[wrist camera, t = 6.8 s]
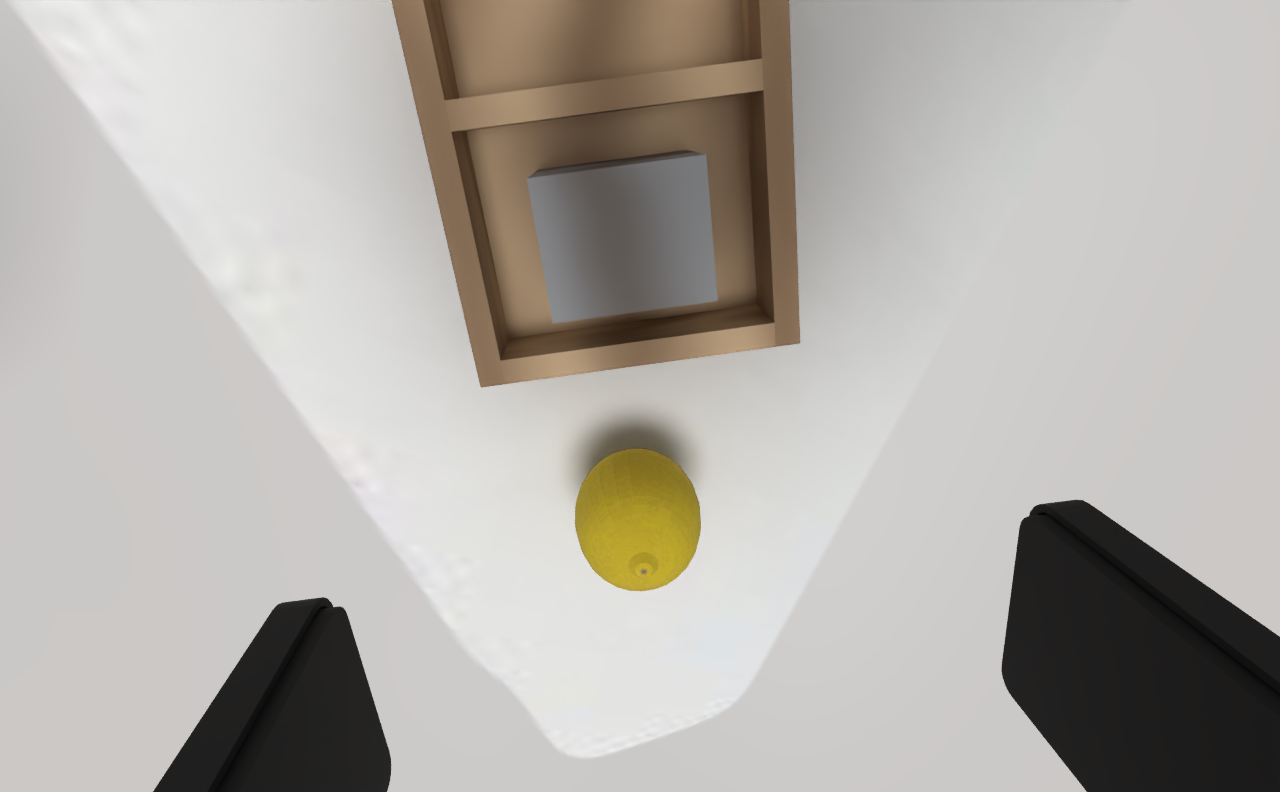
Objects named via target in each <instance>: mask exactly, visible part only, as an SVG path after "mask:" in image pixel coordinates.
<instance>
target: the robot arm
mask: <svg viewBox="0 0 1280 792" xmlns="http://www.w3.org/2000/svg"><path fill="white" fill-rule="evenodd" d="M1011 591H1012V592H1011V598H1010V606H1009V613H1008V621H1007V629H1006V637H1005V644H1004V652H1003V660H1002V675H1003V679H1004V682H1005V685H1006V687H1007V689H1008V691H1009V693H1010V694H1011V696H1012V697H1013V699H1014V700H1015V701H1016V702H1017V704H1018V705H1019V706H1020V707H1021V709H1022V710H1023V711H1024V712H1025V714H1026V715H1027V716H1028V718H1029V719H1030V720H1031V721H1032V722H1033V724H1034V725H1035V726H1036V728H1037V729H1038V730H1039V731H1040V732H1041V734H1042V735H1043V737H1044V738H1045V739H1046V740H1047V742H1048V743H1049V744H1050V745H1051V747H1052V748H1053V749H1054V750H1055V752H1056V753H1057V754H1058V756H1059V757H1060V758H1061V759H1062V761H1063V762H1064V763H1065V764H1066V766H1067V767H1068V768H1069V770H1070V771H1071V772H1072V773H1073V775H1074V776H1075V777H1076V778H1077V780H1078V781H1079V782H1080V783H1081V784H1082V786H1083V787H1084V788H1085V790H1086V791H1087V792H1280V637H1279V636H1278V635H1276V634H1275V633H1273V632H1272V631H1270V630H1269V629H1268V628H1266V627H1265V626H1263V625H1262V624H1261V623H1259V622H1258V621H1256V620H1255V619H1253V618H1252V617H1251V616H1249V615H1248V614H1246V613H1245V612H1243V611H1242V610H1240V609H1239V608H1238V607H1236V606H1235V605H1233V604H1232V603H1231V602H1229V601H1228V600H1226V599H1225V598H1223V597H1222V596H1220V595H1219V594H1218V593H1216V592H1215V591H1213V590H1212V589H1211V588H1209V587H1208V586H1206V585H1205V584H1203V583H1202V582H1200V581H1199V580H1198V579H1196V578H1195V577H1193V576H1192V575H1190V574H1189V573H1188V572H1186V571H1185V570H1183V569H1182V568H1180V567H1179V566H1178V565H1176V564H1175V563H1173V562H1172V561H1170V560H1169V559H1168V558H1166V557H1165V556H1163V555H1162V554H1160V553H1159V552H1158V551H1156V550H1155V549H1153V548H1152V547H1150V546H1149V545H1148V544H1146V543H1144V542H1143V541H1142V540H1140V539H1139V538H1137V537H1136V536H1135V535H1133V534H1132V533H1130V532H1129V531H1128V530H1126V529H1125V528H1123V527H1122V526H1120V525H1119V524H1118V523H1116V522H1115V521H1113V520H1112V519H1110V518H1109V517H1107V516H1106V515H1105V514H1103V513H1102V512H1100V511H1099V510H1097V509H1096V508H1095V507H1093V506H1091V505H1090V504H1088V503H1087V502H1085V501H1083V500H1071V501H1063V502H1055V503H1047V504H1040V505H1037V506H1035V507H1034V508H1033V509H1032V511H1031V512H1030V515H1029V517H1026V518H1024V519H1023V520H1022V522H1021V525H1020V529H1019V537H1018V544H1017V553H1016V560H1015V567H1014V575H1013V583H1012V590H1011ZM390 776H391V758H390V753H389V749H388V746H387V743H386V739H385V737H384V733H383V730H382V726H381V723H380V720H379V717H378V713H377V710H376V707H375V704H374V700H373V697H372V694H371V691H370V687H369V684H368V681H367V678H366V674H365V671H364V668H363V665H362V661H361V658H360V655H359V651H358V648H357V645H356V642H355V638H354V635H353V632H352V629H351V625H350V622H349V619H348V616H347V613H346V611H345V610H344V609H343V608H342V607H333V605H332V603H331V602H330V601H329V600H328V599H327V598H315V599H307V600H300V601H292V602H285V603H281V604H278V605H277V606H276V607H275V608H274V610H272V612H271V614H270V615H269V617H268V618H267V620H266V621H265V623H264V624H263V626H262V627H261V629H260V630H259V632H258V633H257V635H256V636H255V638H254V639H253V641H252V642H251V644H250V645H249V647H248V649H247V650H246V652H245V653H244V654H243V656H242V658H241V659H240V661H239V662H238V664H237V665H236V667H235V668H234V670H233V671H232V673H231V674H230V676H229V677H228V679H227V680H226V682H225V683H224V685H223V686H222V688H221V689H220V691H219V693H218V694H217V696H216V697H215V699H214V700H213V702H212V703H211V705H210V706H209V708H208V709H207V711H206V712H205V714H204V715H203V717H202V718H201V720H200V721H199V723H198V724H197V726H196V727H195V729H194V731H193V732H192V733H191V735H190V737H189V738H188V740H187V741H186V743H185V744H184V746H183V747H182V749H181V750H180V752H179V753H178V755H177V756H176V758H175V759H174V761H173V762H172V764H171V765H170V767H169V769H168V770H167V771H166V773H165V774H164V776H163V778H162V779H161V781H160V782H159V784H158V785H157V787H156V788H155V790H154V791H153V792H387V790H388V786H389V782H390Z"/></svg>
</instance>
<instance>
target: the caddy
mask: <svg viewBox="0 0 1280 792" xmlns="http://www.w3.org/2000/svg"><path fill="white" fill-rule="evenodd" d="M392 4H393V9H394V13H395V17H396V22H397V26H398V30H399V35H400V39H401V44H402V48H403V52H404V57H405V61H406V65H407V70H408V74H409V78H410V83H411V87H412V91H413V96H414V100H415V104H416V109H417V113H418V117H419V122H420V126H421V130H422V135H423V139H424V143H425V148H426V152H427V156H428V161H429V165H430V169H431V174H432V178H433V182H434V187H435V191H436V195H437V200H438V204H439V208H440V213H441V217H442V221H443V226H444V230H445V234H446V239H447V243H448V247H449V252H450V256H451V260H452V265H453V269H454V273H455V278H456V282H457V286H458V291H459V295H460V299H461V304H462V308H463V312H464V317H465V321H466V325H467V330H468V334H469V338H470V343H471V347H472V352H473V356H474V360H475V365H476V369H477V373H478V378H479V382H480V386H481V387H487V386H494V385H502V384H509V383H516V382H523V381H531V380H538V379H545V378H552V377H559V376H567V375H574V374H581V373H588V372H596V371H603V370H610V369H617V368H624V367H632V366H639V365H646V364H653V363H661V362H668V361H675V360H682V359H690V358H697V357H704V356H711V355H718V354H726V353H733V352H740V351H747V350H755V349H762V348H769V347H776V346H783V345H791V344H798V343H800V327H799V296H798V265H797V234H796V204H795V173H794V142H793V111H792V80H791V50H790V19H789V0H392Z"/></svg>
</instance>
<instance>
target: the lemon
mask: <svg viewBox="0 0 1280 792" xmlns="http://www.w3.org/2000/svg"><path fill="white" fill-rule="evenodd" d="M575 527H576V532H577V536H578V539H579V543H580V546H581V549H582V552H583V554H584V556H585V558H586V559H587V561H588V562H589V564H590V566H591V567H592V569H593V570H594V571H595V572H596V573H597V574H598V575H599V576H601V577H602V578H603V579H604V580H605V581H607V582H609V583H611V584H613V585H614V586H616V587H619V588H622V589H626V590H630V591H646V590H652V589H656V588H659V587H662V586H664V585H667V584H668V583H670V582H671V581H673V580H674V579H676V578H677V577H678V576H679V575H680V574H681V573H682V572H683V571H684V570H685V569H686V568H687V566H688V565H689V563H690V561H691V559H692V558H693V556H694V554H695V552H696V548H697V544H698V540H699V536H700V530H701V521H700V506H699V502H698V499H697V496H696V493H695V490H694V487H693V485H692V483H691V481H690V480H689V478H688V477H687V476H686V474H685V473H684V471H683V470H682V469H681V468H680V467H679V466H678V465H677V464H676V463H675V462H673V461H672V460H671V459H670V458H668V457H666V456H664V455H662V454H660V453H658V452H656V451H652V450H647V449H642V448H638V449H626V450H622V451H618V452H615V453H613V454H611V455H609V456H607V457H605V458H604V459H602V460H601V461H600V462H599V463H598V464H597V465H596V466H595V467H593V468H592V469H591V471H590V472H589V474H588V475H587V477H586V479H585V480H584V482H583V483H582V485H581V488H580V491H579V494H578V498H577V501H576V507H575Z"/></svg>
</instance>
